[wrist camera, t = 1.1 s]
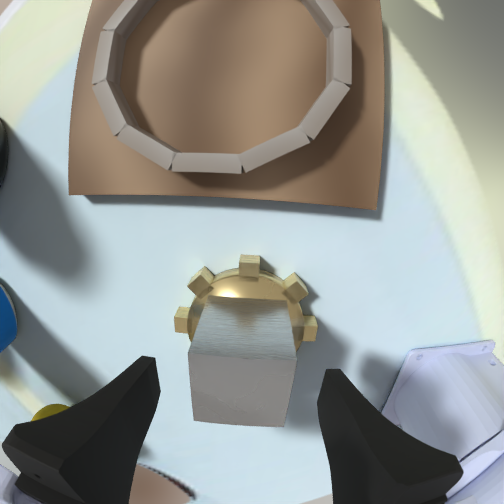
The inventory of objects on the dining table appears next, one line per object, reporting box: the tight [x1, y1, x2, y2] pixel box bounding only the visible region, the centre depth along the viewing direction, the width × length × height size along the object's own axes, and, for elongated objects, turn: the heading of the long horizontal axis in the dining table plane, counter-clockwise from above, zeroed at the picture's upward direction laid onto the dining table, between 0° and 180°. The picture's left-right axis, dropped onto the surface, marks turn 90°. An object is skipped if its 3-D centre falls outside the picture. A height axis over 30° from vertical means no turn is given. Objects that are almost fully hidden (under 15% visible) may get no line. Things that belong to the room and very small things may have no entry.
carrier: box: [68, 0, 385, 210], centre depth 11 cm, size 16×14×3 cm
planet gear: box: [174, 255, 318, 427], centre depth 14 cm, size 8×8×6 cm
